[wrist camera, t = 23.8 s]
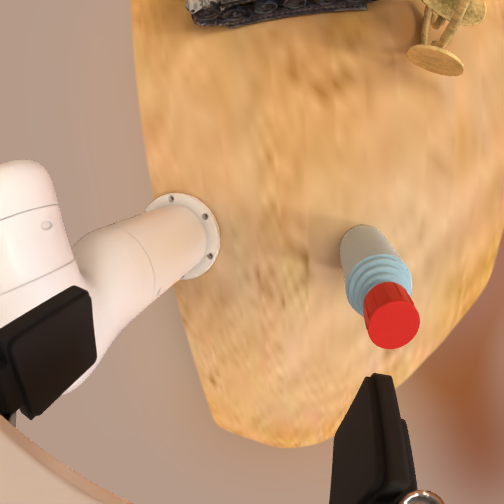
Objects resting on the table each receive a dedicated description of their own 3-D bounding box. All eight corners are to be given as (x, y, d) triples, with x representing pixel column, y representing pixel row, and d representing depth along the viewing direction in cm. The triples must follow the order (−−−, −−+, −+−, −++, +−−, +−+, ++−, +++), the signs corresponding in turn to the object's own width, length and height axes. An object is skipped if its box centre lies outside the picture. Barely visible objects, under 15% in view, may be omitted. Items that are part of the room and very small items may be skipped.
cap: (354, 296, 24) (358, 318, 20) (397, 272, 22) (408, 291, 19) (374, 332, 24) (380, 357, 21) (415, 310, 23) (426, 332, 19)
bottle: (354, 280, 40) (372, 369, 22) (330, 241, 39) (334, 309, 21) (394, 256, 38) (443, 331, 20) (371, 215, 37) (413, 264, 19)
